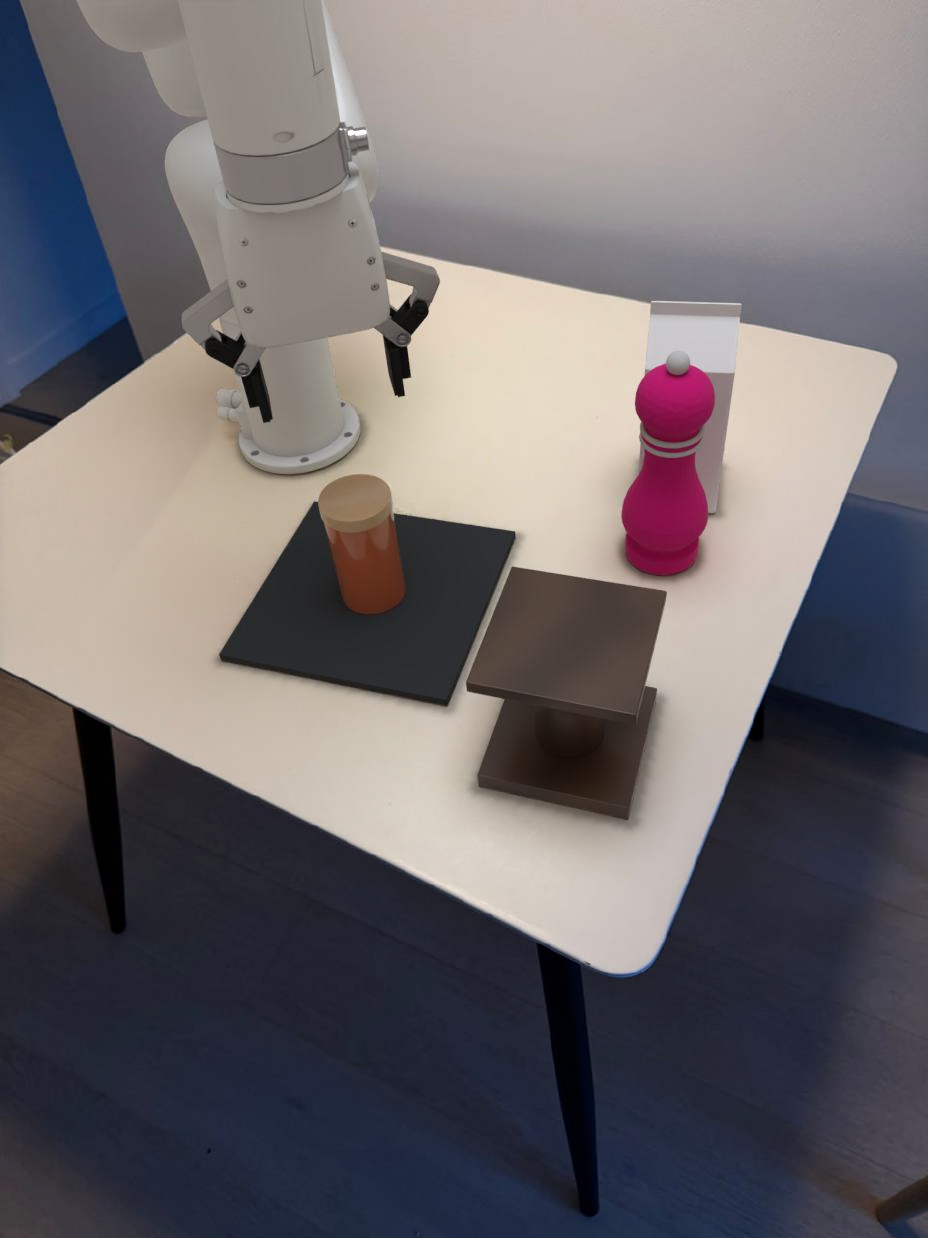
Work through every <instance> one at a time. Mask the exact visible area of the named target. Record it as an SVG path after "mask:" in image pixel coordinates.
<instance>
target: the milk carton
mask: <svg viewBox="0 0 928 1238" xmlns="http://www.w3.org/2000/svg"><path fill="white" fill-rule="evenodd" d="M742 306H743V304H742V303H740V302H739V303H738V302H708V301H707V302H704V301H673V300H670V301H669V300H651V301H650V309H649V320H648V321H649V322H648V331H647V343H646V353H645V355H646V356H645V363H644V376H645V375H646V374H647V373H648V372H649V371H651V370H652V369H654V368H655V367H657V366H660V365H663V364H665V363H666V360H667V357H668V356H669V355H670V354H671V353H672V352H674V351H683V352H685V353H686V354H687V355H688V356H689V358H690V365H692V366H695V367H697V368H699V369H700V370H702V371H703V372H704V373H705V374H706V375H707V376H708V377H709V379H710V380H711V382H712V385H713V388H714V393H715V405H714V409H713V412H712V415H711V417H710V418H709V420H708V421H707V422H706V423H705V424H704V425H705V432H704V441H703V444H702V446H701V447H700V448H699V449H698V450H697V451H696V454H695V467H696V472H697V474H698V477H699V480H700V482H701V485H702V487H703V489H704V491H705V495H706V499H707V504H708V514H715V513H716V512H717V505H718V498H719V489H720V484H721V477H722V470H723V461H724V454H725V447H726V442H727V441H726V440H727V433H728V426H729V418H730V413H731V412H730V410H731V405H732V396H733V390H734V389H733V388H734V381H735V374H736V365H737V355H738V345H739V344H738V343H739V335H740V334H739V333H740V325H741V314H742ZM639 443H640V442H639ZM644 454H645V452H644V447H643V446H642V445H641V443H640V444H639V459H638V460H639V461H638V474H639V473H640V471H641V469H642V466H643V461H644Z"/></svg>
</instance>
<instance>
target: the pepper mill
mask: <svg viewBox="0 0 928 1238" xmlns="http://www.w3.org/2000/svg"><path fill="white" fill-rule="evenodd" d="M714 405H715V393H714V388H713V385H712V382H711V380H710V379H709V377H708V376H707V375H706V374H705V373H704V372H703V371H702V370H700V369H699V368H697V367H695V366H692V365H690V358H689V356H688V355H687V354H686V353H685V352H683V351H674V352H672V353H671V354H670V355H669V356H668V357H667V360H666V363H665V364H663V365H660V366H657V367H655V368H654V369H652V370H651V371H649V372H648V373H647V374H646V375H645V374H644V376H643V377H642V378H641V380H640V382H639V383H638V386H637V389H636V392H635V398H634V409H635V413H636V415H637V417H638V419H639V421H640V424H639V434H638V435H639V436H638V438H639V443H641V445H642V446H643V447H644V452H645V454H644V461H643V466H642V469H641V471H640V473H639V472H638V475H637V476H636V478H635V479H634V480H633V482H632V483H631V485H630V486H629V488H628V490H627V491H626V494H625V496H624V499H623V501H622V506H621V507H622V508H621V513H620V515H621V517H620V518H621V523H622V526H623V529H624V530H625V532H626V534H625V547H624V551H625V555H626V558H627V560H628V561H629V562H630V564H632V565H633V566H634V567H635V568H636V569H637V570H640V571H642V572H643V573H647V574H651V575H654V576H672V575H677V574H679V573H682V572H684V571H686V570H687V569H689V568H690V567H691V566H692V565H693V564H694V563H695V561H696V560H697V557H698V551H699V543H700V536H701V535H702V534H703V533H704V531H705V529H706V527H707V524H708V520H709V513H708V504H707V499H706V495H705V491H704V489H703V487H702V485H701V482H700V480H699V477H698V474H697V472H696V467H695V454H696V451H697V450H698V449H699V448H700V447H701V446H702V444H703V441H704V432H705V425H704V424H705V423H706V422H707V421H708V420H709V418H710V417H711V415H712V412H713V409H714Z"/></svg>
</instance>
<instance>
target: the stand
mask: <svg viewBox="0 0 928 1238" xmlns="http://www.w3.org/2000/svg"><path fill="white" fill-rule="evenodd" d="M667 594H668V593H667V590H662V589H657V588H650V587H645V586H644V587H643V586H637V585H631V584H625V583H619V582H612V581H606V580H600V579H594V578H589V577H588V578H587V577H583V576H582V577H581V576H575V575H568V574H562V573H557V572H551V571H550V572H549V571H544V570H537V569H532V568H531V569H530V568H525V567H518V566H511V567H510V570H509V572H508V575H507V577H506V581H505V582H504V584H503V588H502V590H501V593H500V594H499V597H498V600H497V603H496V605H495V607H494V610H493V613H492V615H491V617H490V620H489V622H488V625H487V627H486V630H485V633H484V636H483V638H482V641H481V643H480V645H479V648H478V651H477V653H476V655H475V658H474V660H473V663H472V665H471V668H470V671H469V673H468V676H467V677H466V680H465V687H466V692H468V693H471V694H477V695H482V696H487V697H493V698H497V699H503V703H502V705H501V708H500V711H499V713H498V717H497V718H496V721H495V725H494V727H493V730H492V733H491V736H490V738H489V740H488V745H487V747H486V750H485V753H484V754H483V758H482V760H481V763H480V766H479V769H478V772H477V783H478V784H477V785H478V787H480V788H483V789H488V790H493V791H497V792H502V793H505V794H510V795H516V796H520V797H524V798H527V799H533V800H537V801H542V802H547V803H551V804H556V805H561V806H564V807H569V808H574V809H578V810H582V811H588V812H591V813H596V814H600V815H605V816H610V817H615V818H618V819H623V820H629V819H630V815H631V811H632V806H633V803H634V799H635V798H634V797H635V793H636V789H637V785H638V780H639V777H640V772H641V768H642V764H643V759H644V755H645V751H646V746H647V741H648V737H649V733H650V729H651V725H652V719H653V715H654V712H655V707H656V704H657V697H658V688H657V687H653V686H648V685H647V680H648V676H649V673H650V672H649V671H650V668H651V663H652V660H653V655H654V652H655V647H656V643H657V639H658V635H659V631H660V627H661V623H662V619H663V615H664V610H665V607H666V602H667Z"/></svg>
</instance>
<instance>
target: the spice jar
mask: <svg viewBox="0 0 928 1238" xmlns="http://www.w3.org/2000/svg"><path fill="white" fill-rule="evenodd" d="M317 502H318V506H319V510H320V515H321V518H322V520H323V522H324V526H325V530H326V534H327V538H328V542H329V546H330V550H331V554H332V558H333V563H334V567H335V571H336V575H337V579H338V583H339V587H340V591H341V595H342V599H343V602H344V603H345V605H346V606H347V607H348V608H349V609H351V610H352V611H354V612H357V613H360V614H367V615H372V614H379V613H383V612H386V611H388V610H390V609H392V608H394V607H395V606H396V605H398V604H399V603H400V602H401V600H402V599H403V597H404V595H405V592H406V583H405V578H404V572H403V566H402V560H401V555H400V549H399V543H398V537H397V532H396V526H395V520H394V515H393V513H394V509H393V507H394V503H393V502H394V501H393V497H392V491H391V488H390V486H389V484H388V483H387V482H386V481H385V480H384V479H383V478H380V477H378V476H376V475H372V474H367V473H366V474H365V473H354V474H348V475H345V476H341V477H339V478H337V479H334V480H332V481H330V483H328V484H327V485H326V486H325V487H324V488H323V489H322V490H321V491H320V493H319V496H318V498H317Z"/></svg>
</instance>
